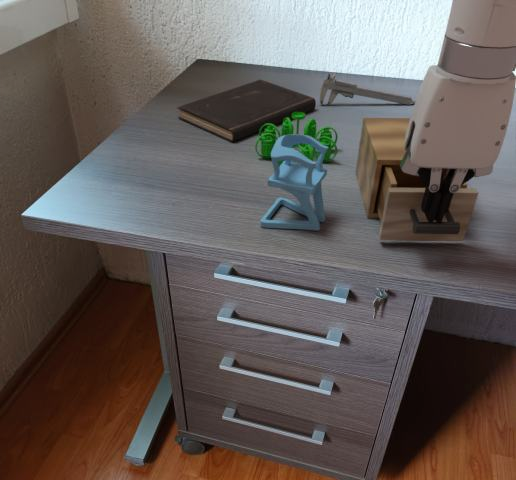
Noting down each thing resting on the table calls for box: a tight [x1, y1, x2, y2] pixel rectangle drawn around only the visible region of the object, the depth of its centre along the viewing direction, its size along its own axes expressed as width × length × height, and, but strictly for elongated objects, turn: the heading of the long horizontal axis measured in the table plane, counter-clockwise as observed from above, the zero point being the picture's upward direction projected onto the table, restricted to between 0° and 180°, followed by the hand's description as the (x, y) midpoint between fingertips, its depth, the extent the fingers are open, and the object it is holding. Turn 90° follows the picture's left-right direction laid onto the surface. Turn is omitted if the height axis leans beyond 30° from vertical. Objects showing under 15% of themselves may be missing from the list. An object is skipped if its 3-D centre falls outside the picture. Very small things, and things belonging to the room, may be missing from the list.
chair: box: [260, 133, 328, 231], centre depth 73 cm, size 8×8×12 cm
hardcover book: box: [177, 79, 317, 143], centre depth 105 cm, size 16×23×2 cm
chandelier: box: [254, 112, 338, 167], centre depth 91 cm, size 15×15×7 cm
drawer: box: [375, 165, 479, 242], centre depth 73 cm, size 18×11×7 cm, turn 179°
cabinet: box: [355, 117, 413, 219], centre depth 80 cm, size 15×13×9 cm
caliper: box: [319, 72, 416, 107], centre depth 108 cm, size 20×1×6 cm, turn 93°
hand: (432, 216), depth 67 cm, fingers closed
